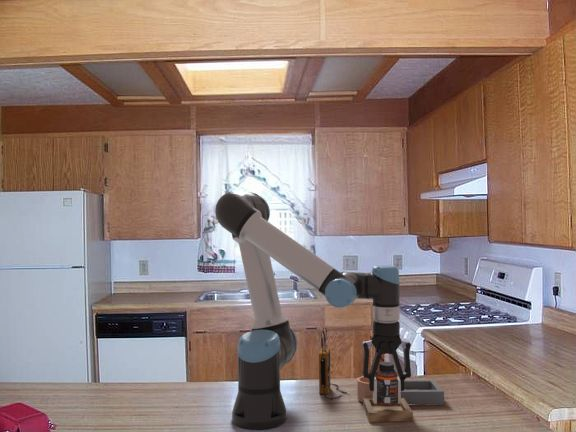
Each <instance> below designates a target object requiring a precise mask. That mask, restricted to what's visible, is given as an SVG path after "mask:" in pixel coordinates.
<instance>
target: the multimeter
mask: <svg viewBox="0 0 576 432" xmlns="http://www.w3.org/2000/svg"><path fill="white" fill-rule="evenodd" d="M324 329H325V330H324ZM327 332H328V330H327V328H326V327H322V331H321V333H320V341H321V343H320V345H322V346H321V349H320V351H319V352H318V384H319V385H318V387H319V388H318V392H319V395H324V398H326V399H328V400H334V399H338V398H340V397H342V396H344V395H345V394H346V393H347V394H349V395H351V393H350V392H348V391H346V390H343V389H339V385H337V384H335V383H331V348H330V347H327V346H328V345H327V338H326V337H327V335H328V334H327ZM331 385H333V386H336V388H335V389H336V390H337V391H339V392H341V393H343V394H339V395H336V396H335V397H331V398H330V399H329V397H327V396H326V395H329V391H330V389H331ZM337 397H338V398H337ZM333 398H334V399H333Z"/></svg>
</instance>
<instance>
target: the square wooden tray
mask: <svg viewBox="0 0 576 432" xmlns="http://www.w3.org/2000/svg"><path fill="white" fill-rule="evenodd" d="M362 406H364V407H363V410H364V409H365V410H364V413H365V412H366V413H365V416H366V417H367V421H368V422H369V423H373V422H374V423H383V422H382V421H413V422H414V413H413V412H414V411H412V409H411V407H410V405H408V404H407V402H406V400H405V399H404V398H401V404H398V403H397V404H396V405H394V406H382V405H379V404H378V403H377V404H374V402H373V398H363V402H362ZM380 421H381V422H380Z"/></svg>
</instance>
